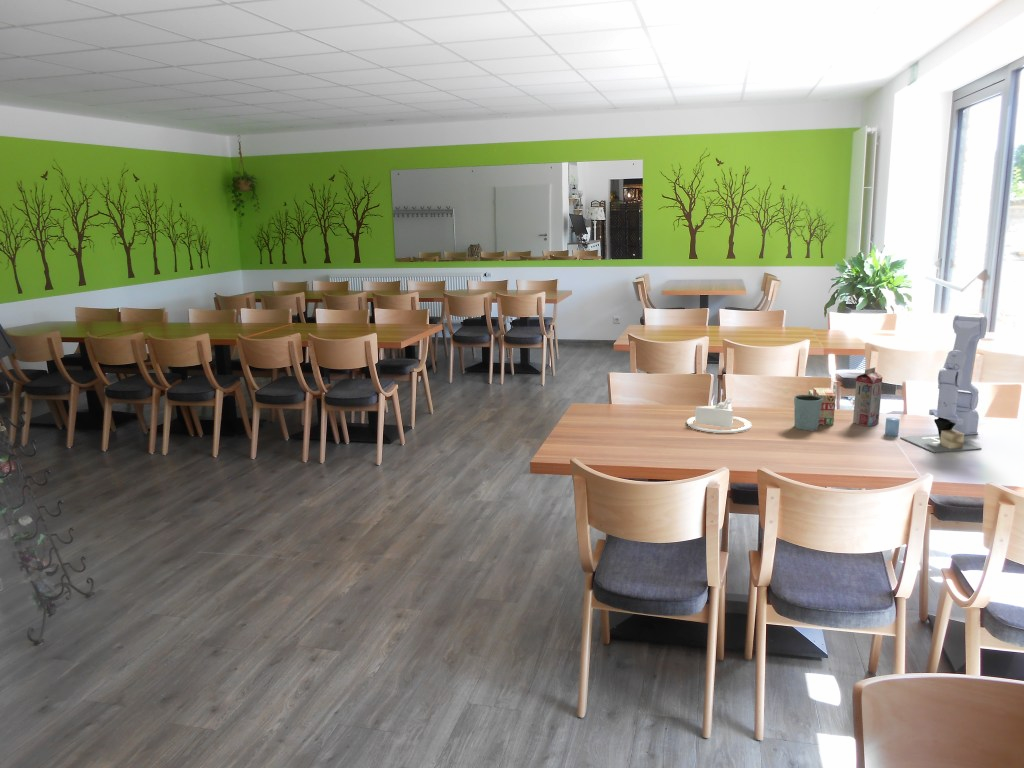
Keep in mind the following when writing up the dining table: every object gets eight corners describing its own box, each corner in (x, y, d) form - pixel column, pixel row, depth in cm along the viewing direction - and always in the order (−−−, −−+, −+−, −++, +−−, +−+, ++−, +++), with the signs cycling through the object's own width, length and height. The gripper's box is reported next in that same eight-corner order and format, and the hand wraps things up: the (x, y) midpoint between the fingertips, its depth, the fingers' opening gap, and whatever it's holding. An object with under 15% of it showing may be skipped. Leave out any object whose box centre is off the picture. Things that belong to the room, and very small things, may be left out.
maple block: (952, 443, 269) (954, 429, 268) (962, 447, 264) (964, 433, 263) (939, 444, 268) (941, 430, 267) (949, 448, 263) (951, 434, 262)
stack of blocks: (807, 411, 318) (809, 382, 315) (823, 411, 317) (825, 382, 314) (816, 425, 298) (818, 394, 295) (833, 425, 297) (836, 394, 294)
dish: (747, 418, 310) (748, 391, 308) (755, 435, 286) (756, 406, 284) (685, 416, 315) (686, 390, 312) (688, 433, 291) (689, 405, 288)
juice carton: (878, 423, 297) (883, 368, 292) (868, 426, 293) (873, 370, 289) (862, 420, 302) (866, 366, 298) (852, 422, 299) (857, 368, 294)
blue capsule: (893, 432, 285) (894, 417, 284) (900, 435, 281) (902, 420, 279) (882, 433, 284) (883, 417, 283) (889, 436, 280) (891, 421, 279)
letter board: (944, 435, 280) (944, 433, 280) (981, 449, 263) (981, 448, 263) (900, 438, 278) (900, 437, 278) (934, 453, 260) (934, 451, 260)
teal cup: (791, 429, 292) (793, 399, 289) (792, 422, 301) (794, 393, 298) (820, 432, 288) (822, 401, 285) (820, 425, 297) (822, 395, 294)
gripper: (923, 398, 273) (919, 434, 276) (951, 407, 259) (947, 445, 262) (940, 396, 274) (937, 433, 277) (970, 406, 260) (965, 444, 263)
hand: (943, 439), depth 270 cm, fingers closed
